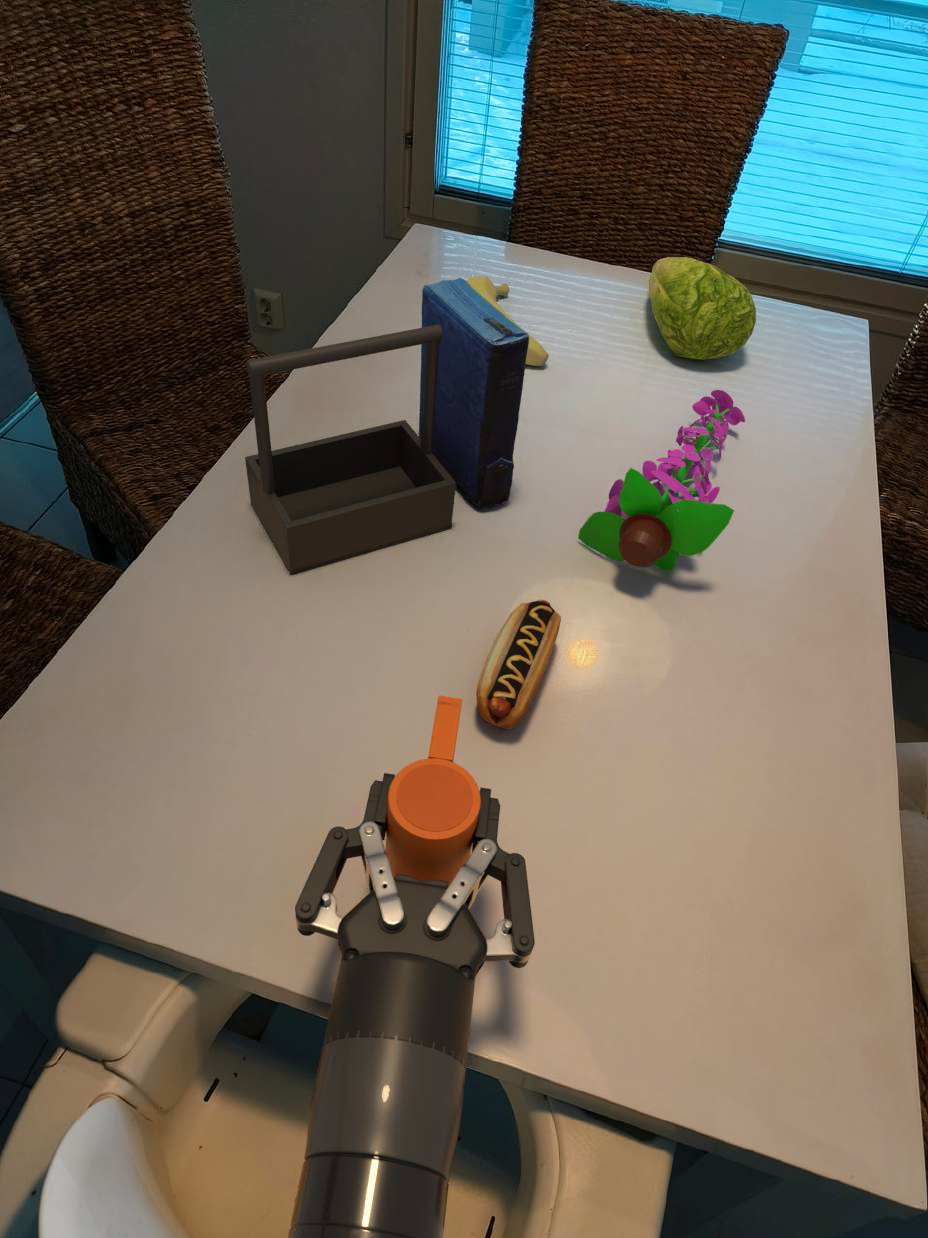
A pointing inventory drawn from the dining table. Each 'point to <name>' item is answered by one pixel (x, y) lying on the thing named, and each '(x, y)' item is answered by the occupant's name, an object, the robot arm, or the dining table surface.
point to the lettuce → (700, 308)
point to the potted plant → (667, 498)
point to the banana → (489, 292)
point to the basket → (349, 469)
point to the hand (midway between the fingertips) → (436, 788)
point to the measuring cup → (433, 807)
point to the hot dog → (517, 663)
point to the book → (474, 389)
